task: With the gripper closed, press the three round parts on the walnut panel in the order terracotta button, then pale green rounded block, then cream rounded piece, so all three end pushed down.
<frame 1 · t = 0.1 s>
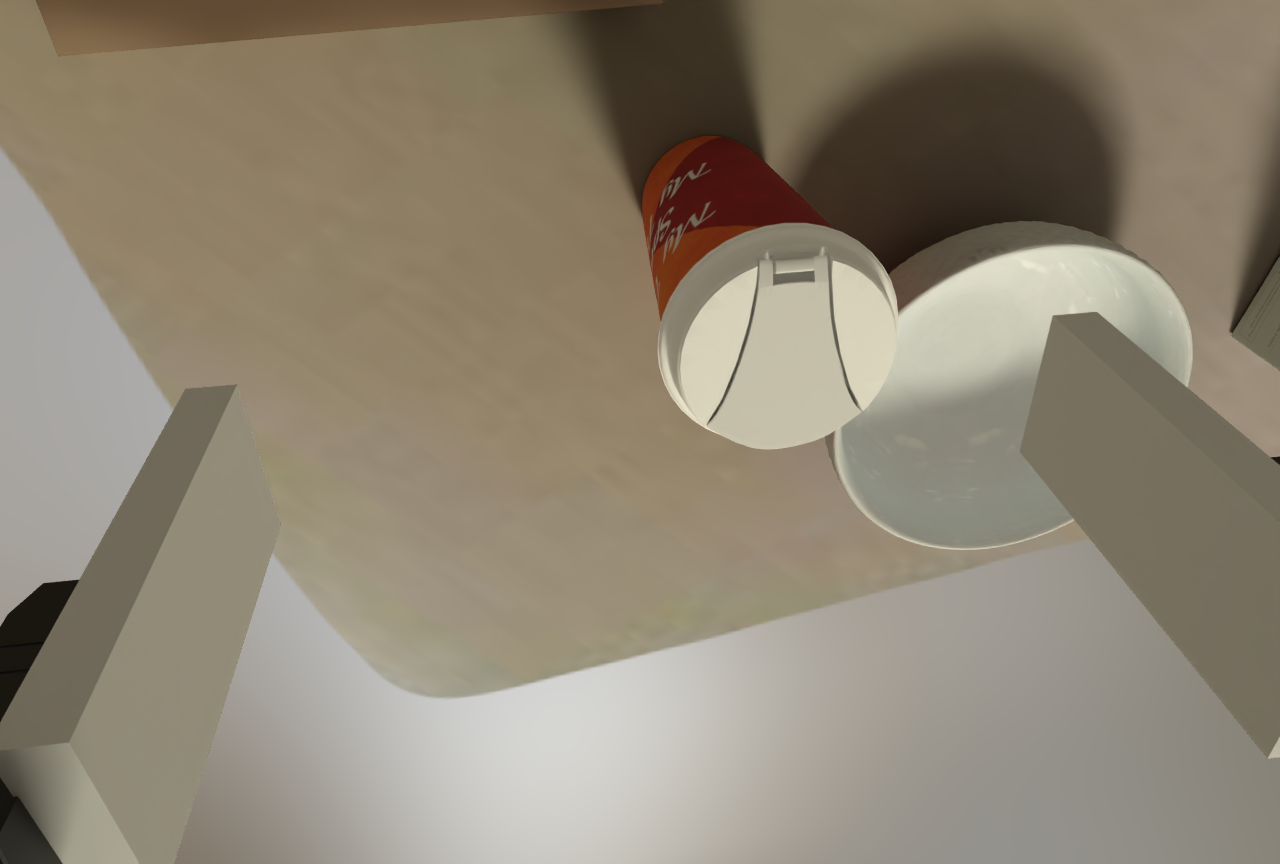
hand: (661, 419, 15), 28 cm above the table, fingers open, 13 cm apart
cereal bowl: (952, 340, 49), on the table
coffee cup: (705, 200, 43), on the table
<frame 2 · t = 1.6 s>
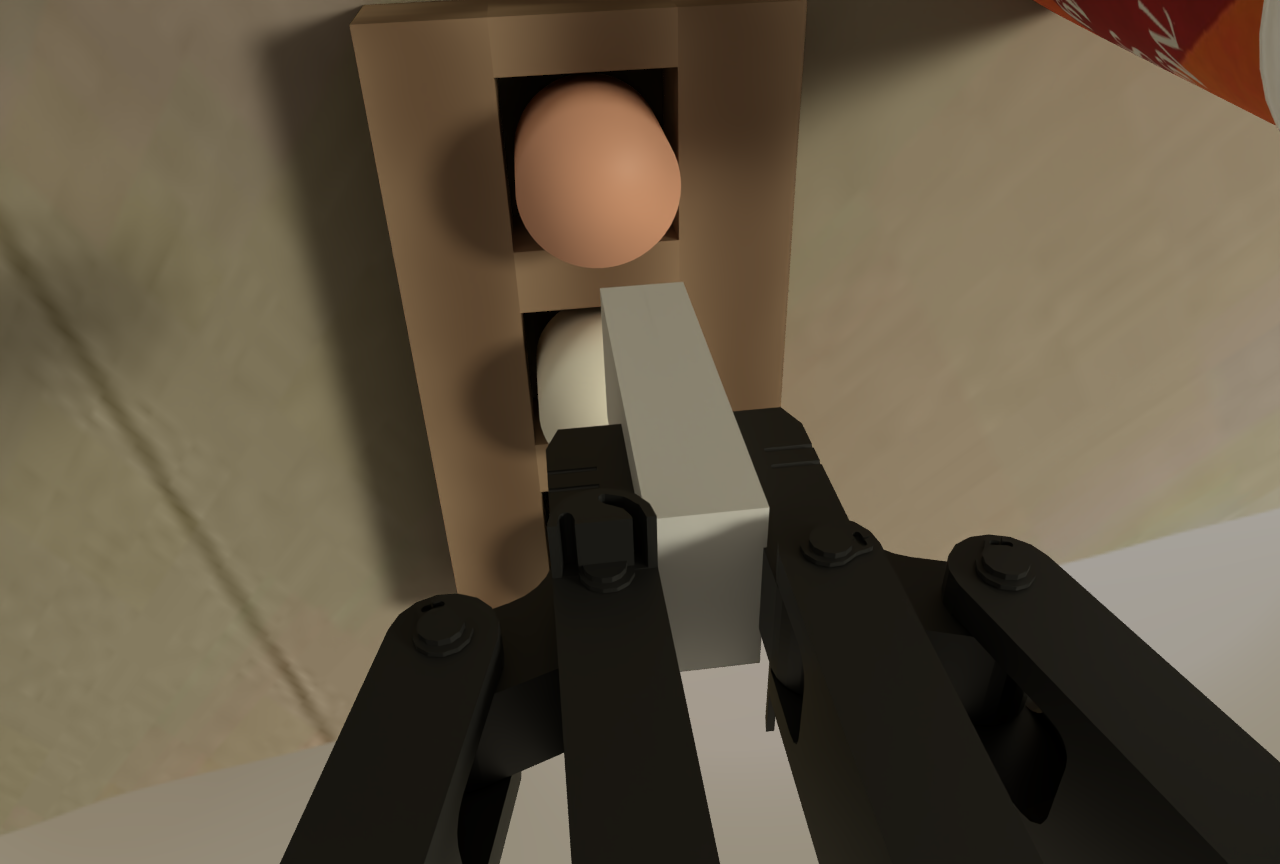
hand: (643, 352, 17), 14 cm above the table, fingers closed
cream rounded piece: (605, 383, 30), point 3 cm above the table, slide at 0.0 cm
walnut panel: (596, 333, 33), on the table
terracotta button: (593, 169, 26), point 4 cm above the table, slide at 0.0 cm
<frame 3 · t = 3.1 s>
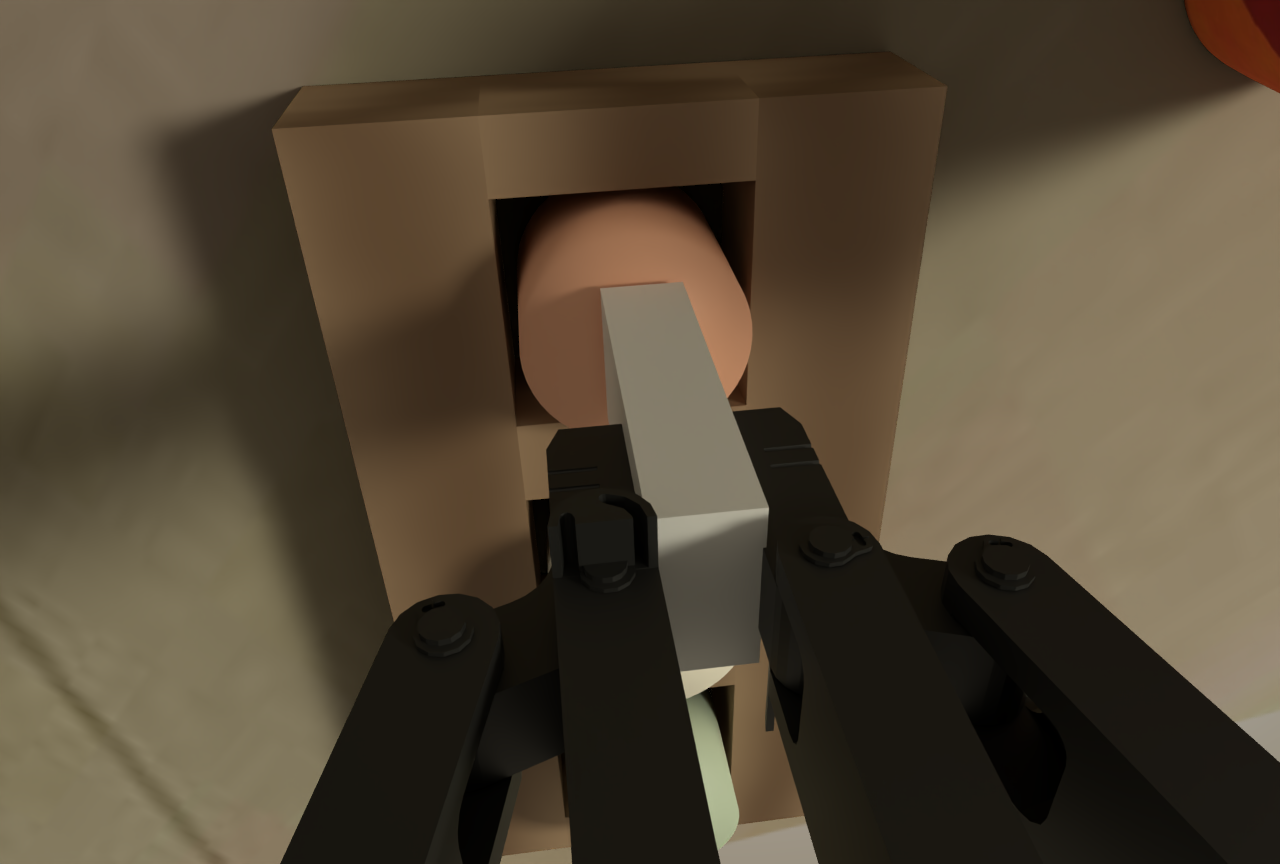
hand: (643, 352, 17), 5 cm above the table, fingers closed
pale green rounded block: (648, 769, 26), point 3 cm above the table, slide at 0.0 cm
cream rounded piece: (641, 585, 22), point 3 cm above the table, slide at 0.0 cm
walnut panel: (625, 496, 25), on the table
terracotta button: (626, 304, 19), point 3 cm above the table, slide at -0.8 cm, touching gripper
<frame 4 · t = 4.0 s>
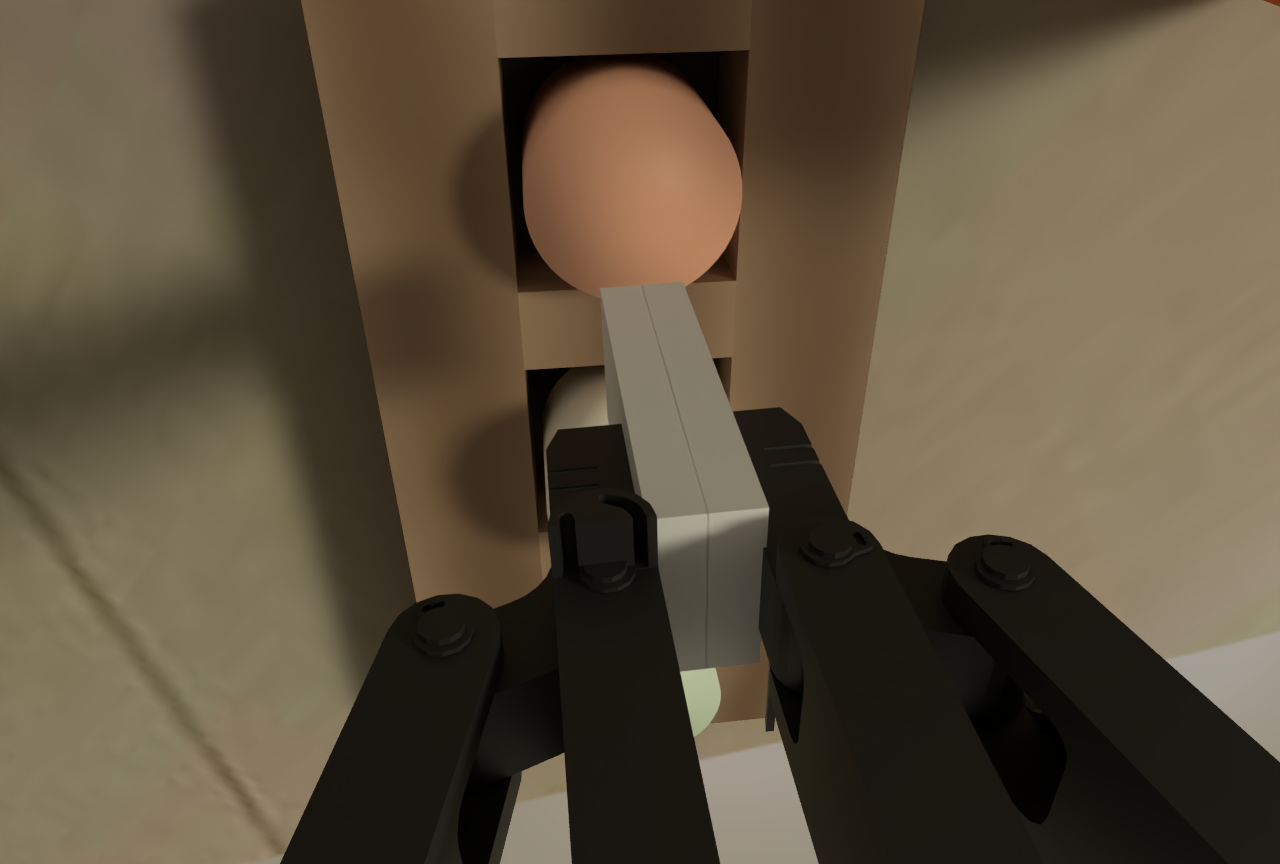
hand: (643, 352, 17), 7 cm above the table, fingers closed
pale green rounded block: (635, 655, 27), point 3 cm above the table, slide at 0.0 cm
cream rounded piece: (632, 460, 23), point 3 cm above the table, slide at 0.0 cm
walnut panel: (618, 388, 26), on the table
terracotta button: (624, 172, 20), point 3 cm above the table, slide at -0.9 cm
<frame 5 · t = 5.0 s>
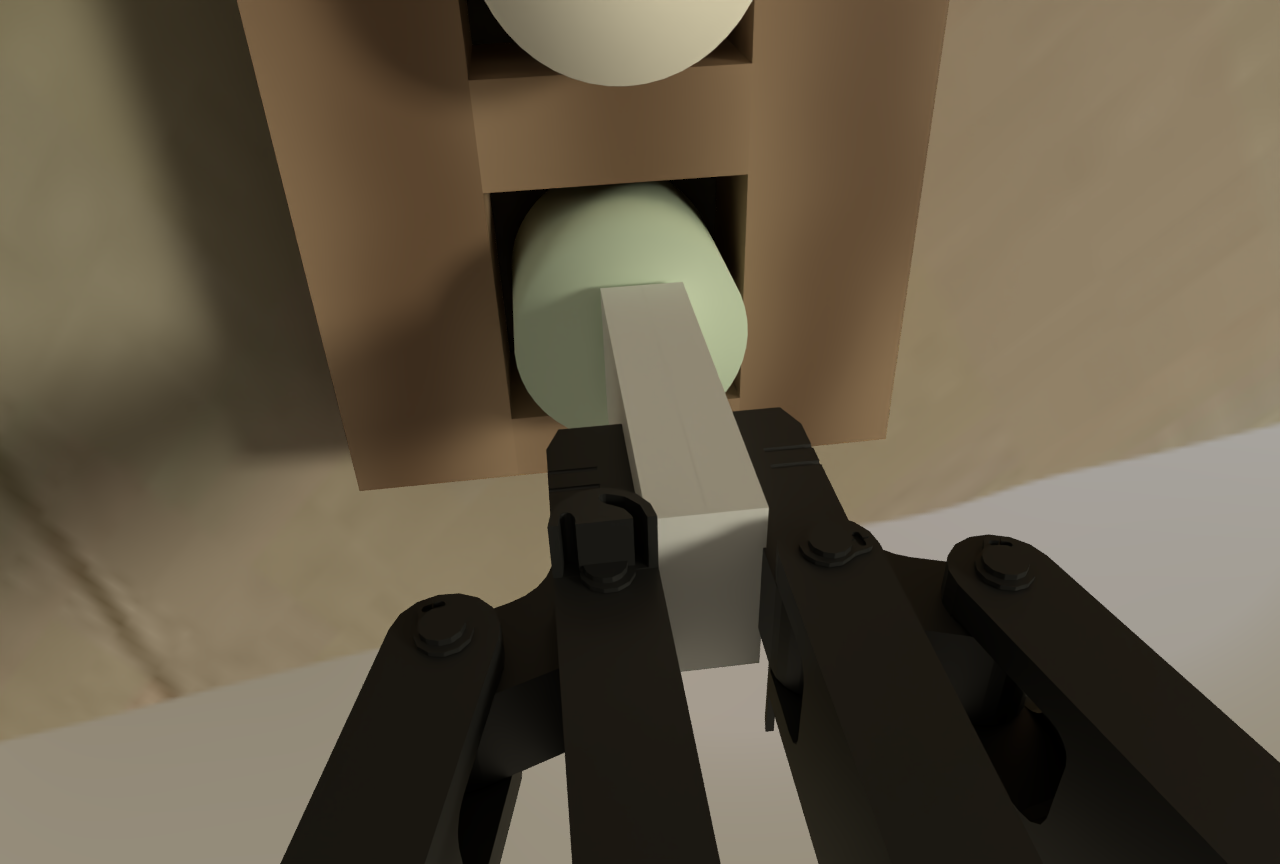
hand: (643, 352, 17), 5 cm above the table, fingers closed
pale green rounded block: (621, 302, 19), point 3 cm above the table, slide at -0.6 cm
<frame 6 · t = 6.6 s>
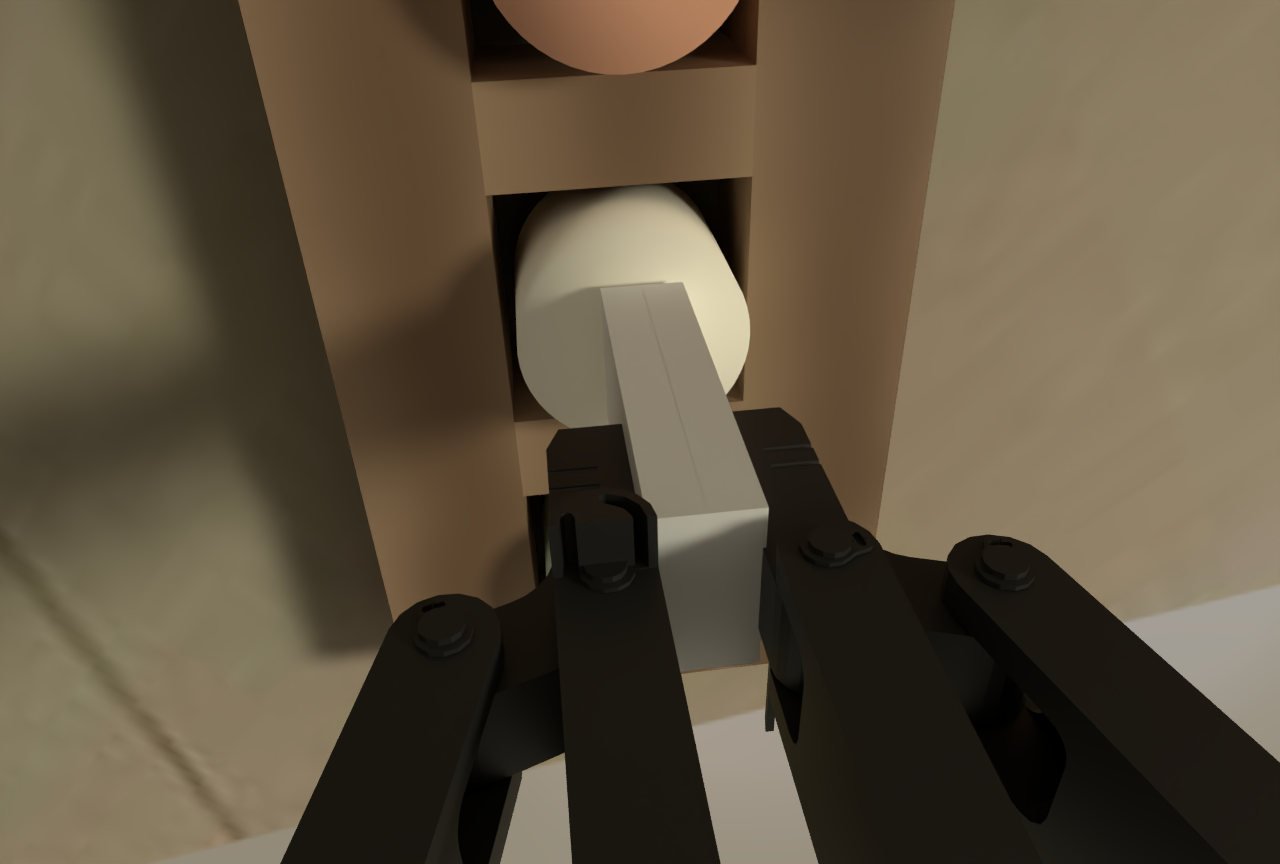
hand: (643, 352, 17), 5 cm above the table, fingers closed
pale green rounded block: (634, 556, 23), point 3 cm above the table, slide at -0.9 cm
cream rounded piece: (624, 302, 19), point 3 cm above the table, slide at -0.7 cm
walnut panel: (610, 249, 21), on the table
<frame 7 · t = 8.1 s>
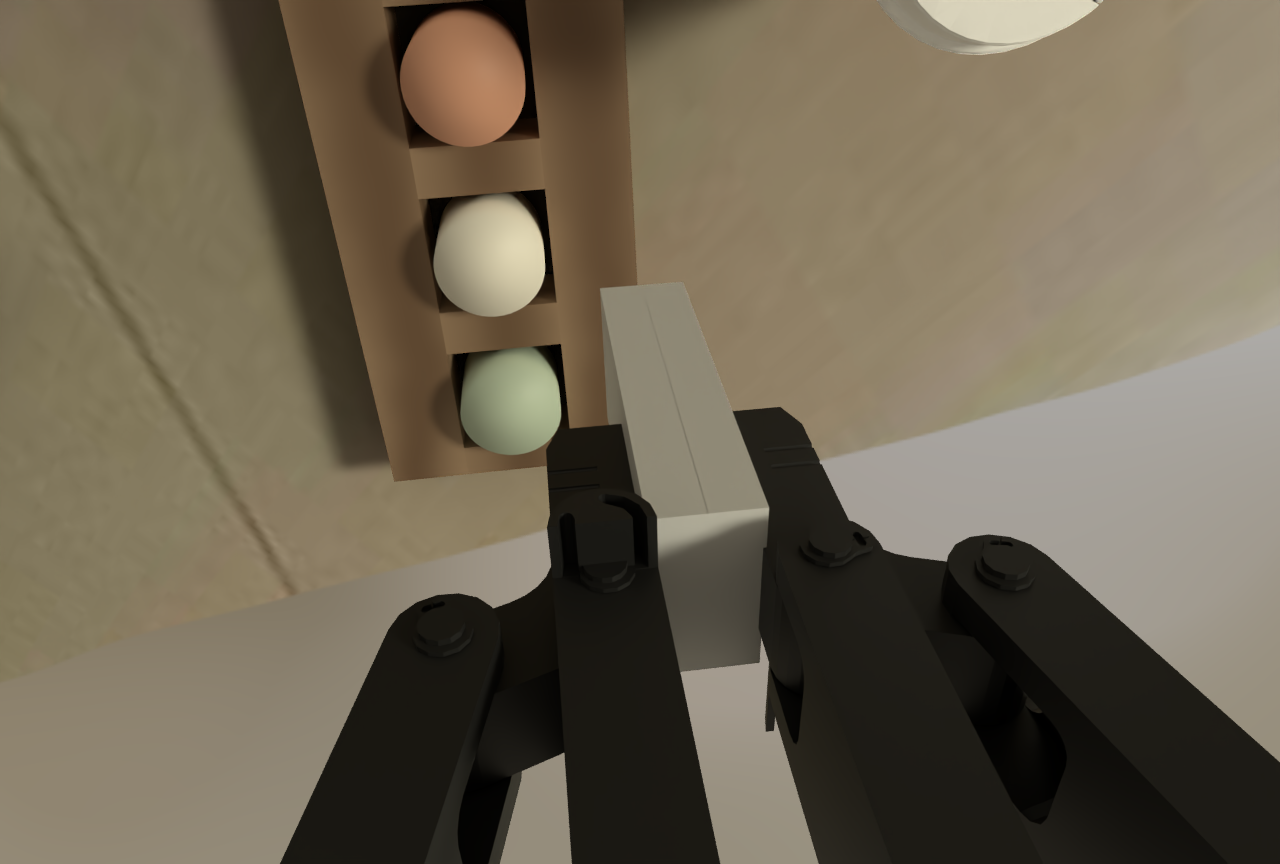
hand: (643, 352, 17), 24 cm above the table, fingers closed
pale green rounded block: (511, 393, 42), point 3 cm above the table, slide at -0.9 cm
cream rounded piece: (490, 249, 38), point 3 cm above the table, slide at -0.9 cm
walnut panel: (491, 226, 41), on the table
terracotta button: (465, 73, 34), point 3 cm above the table, slide at -0.9 cm
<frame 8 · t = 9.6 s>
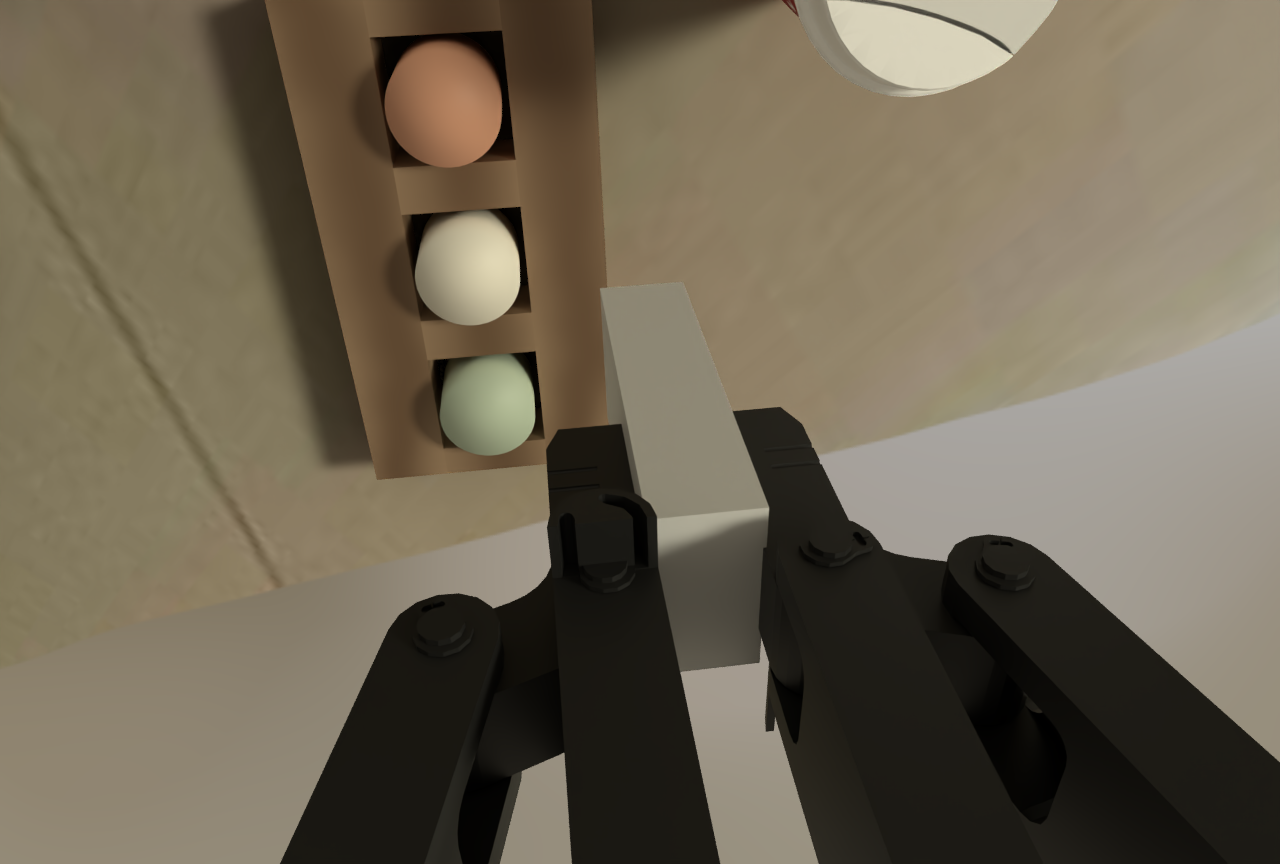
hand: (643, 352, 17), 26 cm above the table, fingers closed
pale green rounded block: (488, 396, 45), point 3 cm above the table, slide at -0.9 cm
cream rounded piece: (469, 262, 41), point 3 cm above the table, slide at -0.9 cm
walnut panel: (471, 239, 43), on the table
terracotta button: (446, 98, 37), point 3 cm above the table, slide at -0.9 cm
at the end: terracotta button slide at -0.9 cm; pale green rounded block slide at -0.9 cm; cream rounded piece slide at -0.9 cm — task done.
